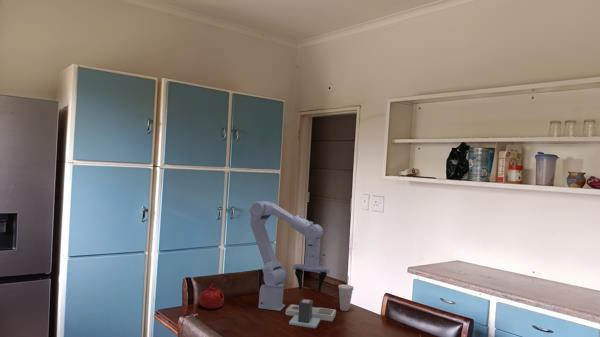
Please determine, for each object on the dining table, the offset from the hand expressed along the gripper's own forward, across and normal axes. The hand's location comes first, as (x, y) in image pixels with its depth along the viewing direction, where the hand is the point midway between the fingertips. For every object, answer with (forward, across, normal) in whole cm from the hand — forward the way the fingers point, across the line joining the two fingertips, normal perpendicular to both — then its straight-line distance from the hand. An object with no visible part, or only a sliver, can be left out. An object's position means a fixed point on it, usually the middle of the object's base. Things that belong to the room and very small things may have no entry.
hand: (309, 289), depth 173 cm
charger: (+9, +1, -9) cm, 13 cm away
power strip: (+10, +2, +1) cm, 10 cm away
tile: (+10, +1, -9) cm, 14 cm away
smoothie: (+10, +12, +14) cm, 21 cm away
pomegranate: (+10, -38, -7) cm, 40 cm away
